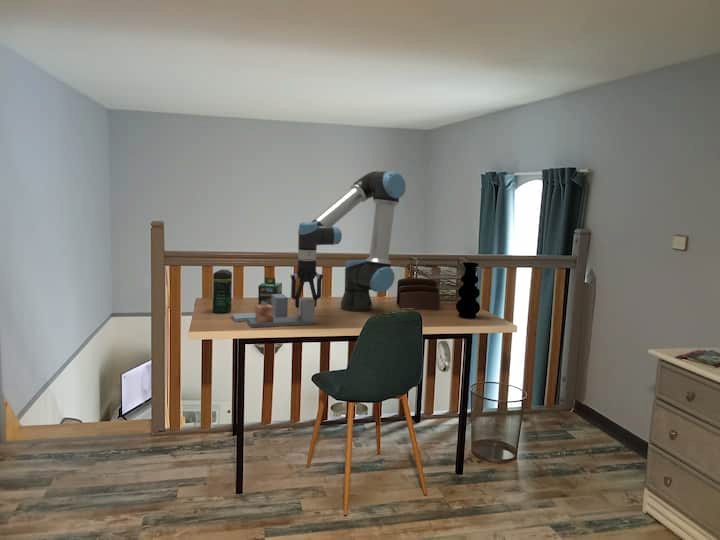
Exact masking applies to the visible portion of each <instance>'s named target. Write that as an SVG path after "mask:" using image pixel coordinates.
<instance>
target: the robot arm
mask: <svg viewBox="0 0 720 540" xmlns="http://www.w3.org/2000/svg"><path fill="white" fill-rule="evenodd" d="M406 188H407V186H406V181H405V179H404V178H403V175H402V174H401V173H399V172H397V171H392V170H391V171H388V170H385V171H371V172H368V173H366V174H365V175H364V176H361V177H360V178H359V179H357V180H356V181H355V182H354V183H353V184H351V185H350V189H349V190H348V191H347V192H345V193H344V194H343V195H342V196H340V197H339V198H338V199H337V200H336V201H334V202H333V203H332V204H331V205H330V206H328V207H327V208H326V209H325V210H323V211H322V213H320V214H319V215H317V216H316V217H315V218H314V219H313V220H312V221H308V222H307V221H301V222H300V223H299V225H298V231H297V235H298V241H297V242H298V245H297V247H298V249H297V250H298V253H297V255H298V256H297V259H298V260H297V272H296V273H294V274H290V277H289V278H290V279H291V286H290V289H291V290H290V297H291V299H293V300H294V301H295V304H294V306H295V308H296V316H297V315H298V316H301V300H300V298H301V295H302V291H303V287H304V285H305V283H308V284H309V286H310V287H309V288H310V293H311V296H312V298H310V299H311V300H313V301H315V308H316V307H317V304H318V303H317V302H318V299H321V298H322V280H323V278H324V275H323V274H320V273H318V272H317V260H316V259H317V246H327V245H329V246H330V245H331V246H333V245H334V246H335V245H339V244H340V243H341V241H342V239H343V236H342V231H341V229H340V228H339V227H337V226H334V225H335V224H336V223H338V222H339V221H340V220H341V219H343V218H344V217H345V216H346V215H347V214H348V213H349V212H351V211H352V210H353V209H355V207H357V206H358V205H359V204H360V203H365V202H366V201H367V200H368V199H371V198H373V199H372V201H373V202H374V204H375V209H374V215H373V217H374V218H373V225H372V232H371V234H372V235H371V242H370V251H369V256H368V257H367V258H366V259H361V260H359V259H355V260H347V261H346V263H345V268H344V291H343V295H342V298H341V301H340V305H339V306H340V307H341V308H340V307H339V308H340V309H342V310H344V309H345V311H350V310H351V312H366V311H365V310H367V311H371V310H372V309H373V303H372V302H373V301H372V299H371V295H370V291H373V292H376V293H377V292H378V293H384V292H387V291H388V290H389V289H391V287H392V286H393V284H394V282H395V277H396V275H395V273H394V270H393V269H392V268H391V266H392V263H391V261H390V259H389V255H390V247H391V239H392V238H391V237H392V231H393V224H394V213H395V207H396V206H397V205H398V204H399V202H400V198H401V197H403V195H405V193H406V191H407V190H406ZM297 278H298V279H299V282H298V285H297ZM315 278H316V288H315V281H314V279H315ZM296 286H298V287H296ZM296 289H297V290H296ZM370 309H371V310H370Z"/></svg>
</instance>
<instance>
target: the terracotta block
mask: <svg viewBox="0 0 720 540" xmlns="http://www.w3.org/2000/svg"><path fill="white" fill-rule="evenodd" d="M255 313H256V317H255V319H256V320H257V322H273V307H272V306H271V305H270V304H268V305H258V304H255Z"/></svg>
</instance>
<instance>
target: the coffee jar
mask: <svg viewBox="0 0 720 540" xmlns="http://www.w3.org/2000/svg"><path fill="white" fill-rule="evenodd" d="M212 277H213V278H212V311H213V313H214V312H215V313H218V314H223V313H229V312H231V310H232V298H233V297H232V293H233V289H232V287H233V283H232V282H233V273H232V271H230V270H229V269H219V270H217V271H215V272H213V274H212Z"/></svg>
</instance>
